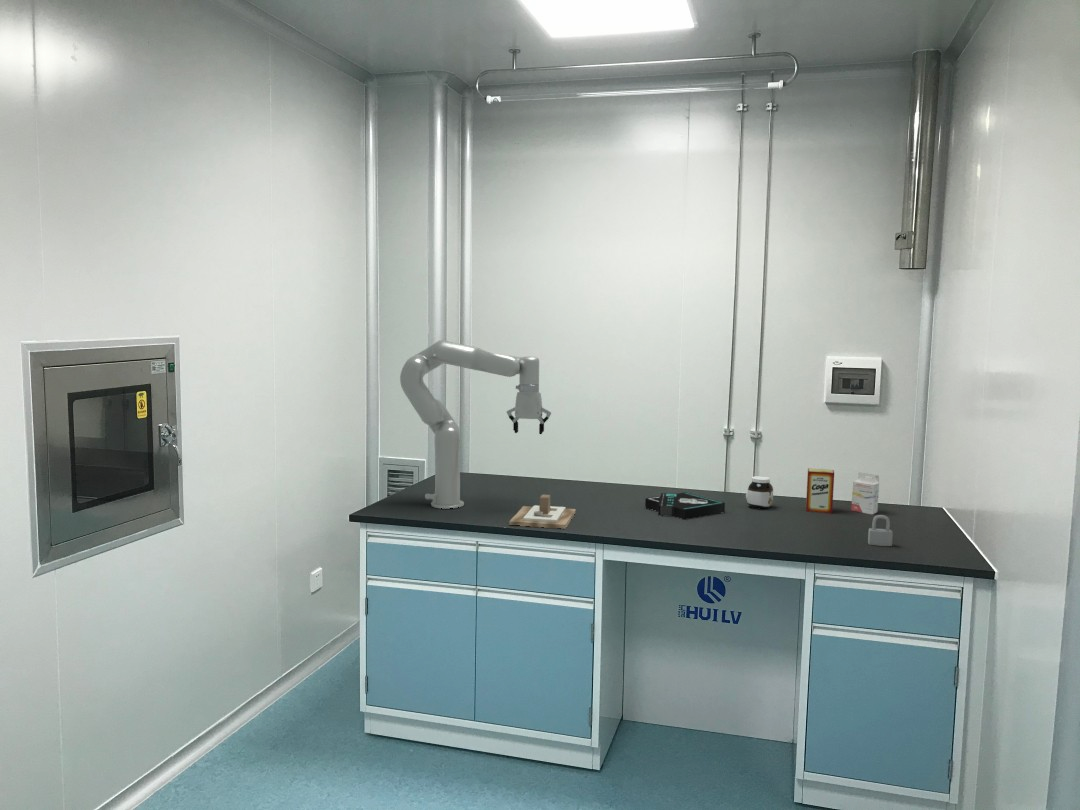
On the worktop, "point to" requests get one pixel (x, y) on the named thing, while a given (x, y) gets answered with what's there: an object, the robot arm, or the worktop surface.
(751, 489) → the spread jar
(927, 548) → the worktop surface
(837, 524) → the worktop surface
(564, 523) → the board
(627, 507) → the worktop surface
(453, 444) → the robot arm
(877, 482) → the ink cartridge box
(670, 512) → the flat black box
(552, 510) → the panel
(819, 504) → the baking soda box
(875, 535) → the padlock
